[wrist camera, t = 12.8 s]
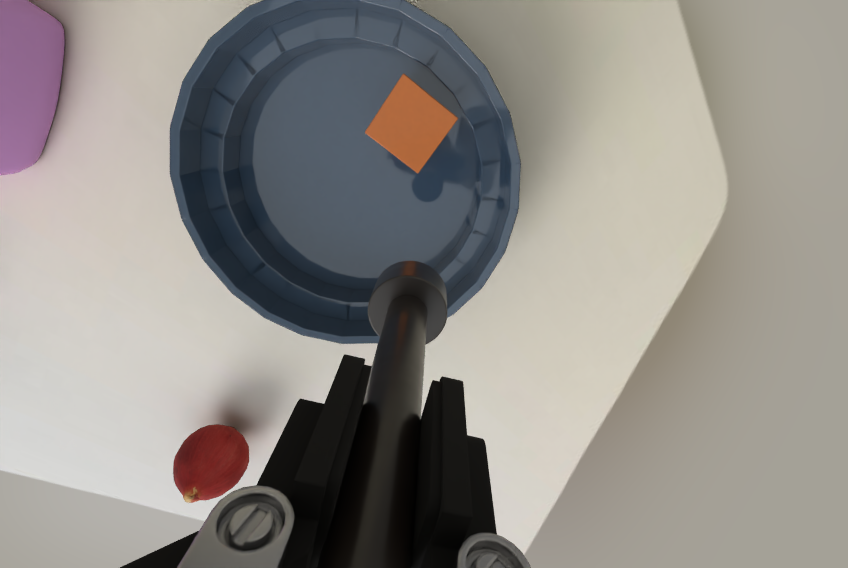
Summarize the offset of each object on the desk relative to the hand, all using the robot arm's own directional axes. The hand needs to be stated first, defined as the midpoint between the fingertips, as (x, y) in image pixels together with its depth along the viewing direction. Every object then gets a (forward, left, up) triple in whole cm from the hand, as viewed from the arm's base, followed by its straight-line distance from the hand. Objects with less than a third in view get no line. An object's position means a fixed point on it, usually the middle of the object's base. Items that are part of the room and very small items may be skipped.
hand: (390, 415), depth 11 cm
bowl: (+5, -1, -23) cm, 23 cm away
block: (+2, -6, -22) cm, 23 cm away
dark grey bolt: (0, 0, -9) cm, 9 cm away
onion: (+13, +25, -23) cm, 36 cm away
